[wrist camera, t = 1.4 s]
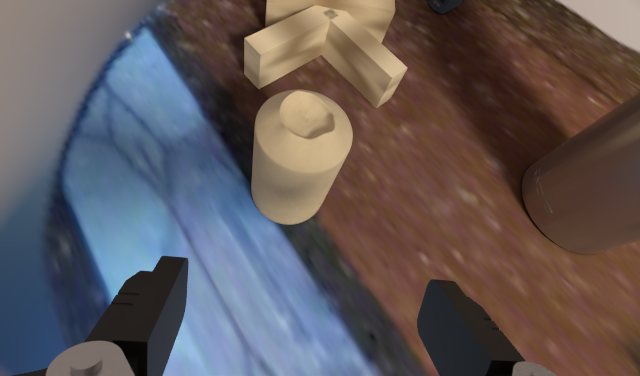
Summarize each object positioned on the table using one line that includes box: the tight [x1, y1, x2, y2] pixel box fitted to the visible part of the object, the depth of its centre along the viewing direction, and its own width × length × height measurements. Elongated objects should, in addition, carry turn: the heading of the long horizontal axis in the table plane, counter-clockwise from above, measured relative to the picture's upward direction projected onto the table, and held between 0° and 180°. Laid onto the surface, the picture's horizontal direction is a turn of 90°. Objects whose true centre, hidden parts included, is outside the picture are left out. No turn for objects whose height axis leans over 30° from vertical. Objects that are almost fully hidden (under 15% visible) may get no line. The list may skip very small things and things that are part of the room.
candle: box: [251, 90, 353, 225], centre depth 23 cm, size 6×6×10 cm
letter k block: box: [244, 0, 407, 108], centre depth 32 cm, size 13×10×5 cm
